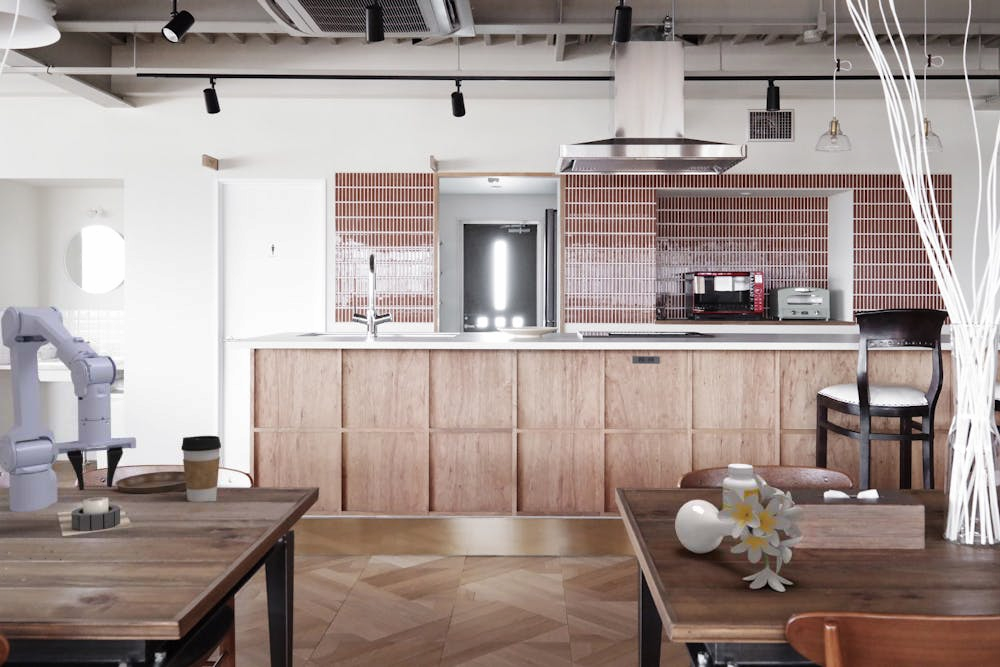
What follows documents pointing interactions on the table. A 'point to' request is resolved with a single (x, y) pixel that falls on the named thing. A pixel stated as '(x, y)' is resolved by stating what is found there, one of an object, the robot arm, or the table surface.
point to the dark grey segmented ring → (95, 519)
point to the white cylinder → (95, 505)
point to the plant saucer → (153, 482)
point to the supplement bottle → (739, 483)
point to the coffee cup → (201, 467)
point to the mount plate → (66, 529)
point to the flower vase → (744, 529)
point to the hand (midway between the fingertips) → (95, 487)
